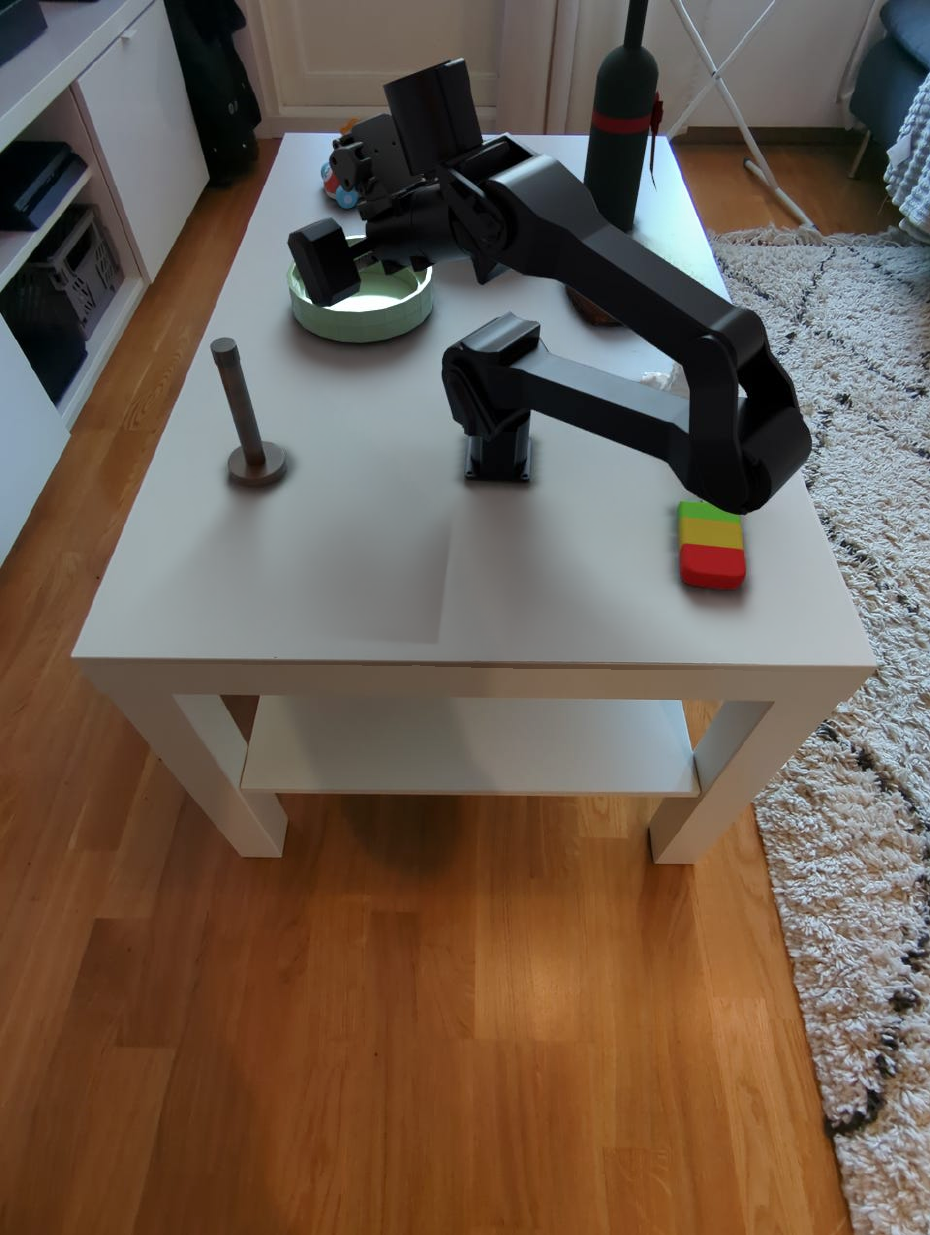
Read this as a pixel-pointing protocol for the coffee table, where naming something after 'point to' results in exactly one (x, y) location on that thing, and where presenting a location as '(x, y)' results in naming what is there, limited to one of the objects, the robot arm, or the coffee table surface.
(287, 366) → the coffee table surface
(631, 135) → the wine bottle
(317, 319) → the green round dish
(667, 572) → the coffee table surface
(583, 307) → the pastry
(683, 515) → the popsicle
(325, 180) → the toy car
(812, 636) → the coffee table surface
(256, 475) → the paper towel holder
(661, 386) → the sitting furry creature
